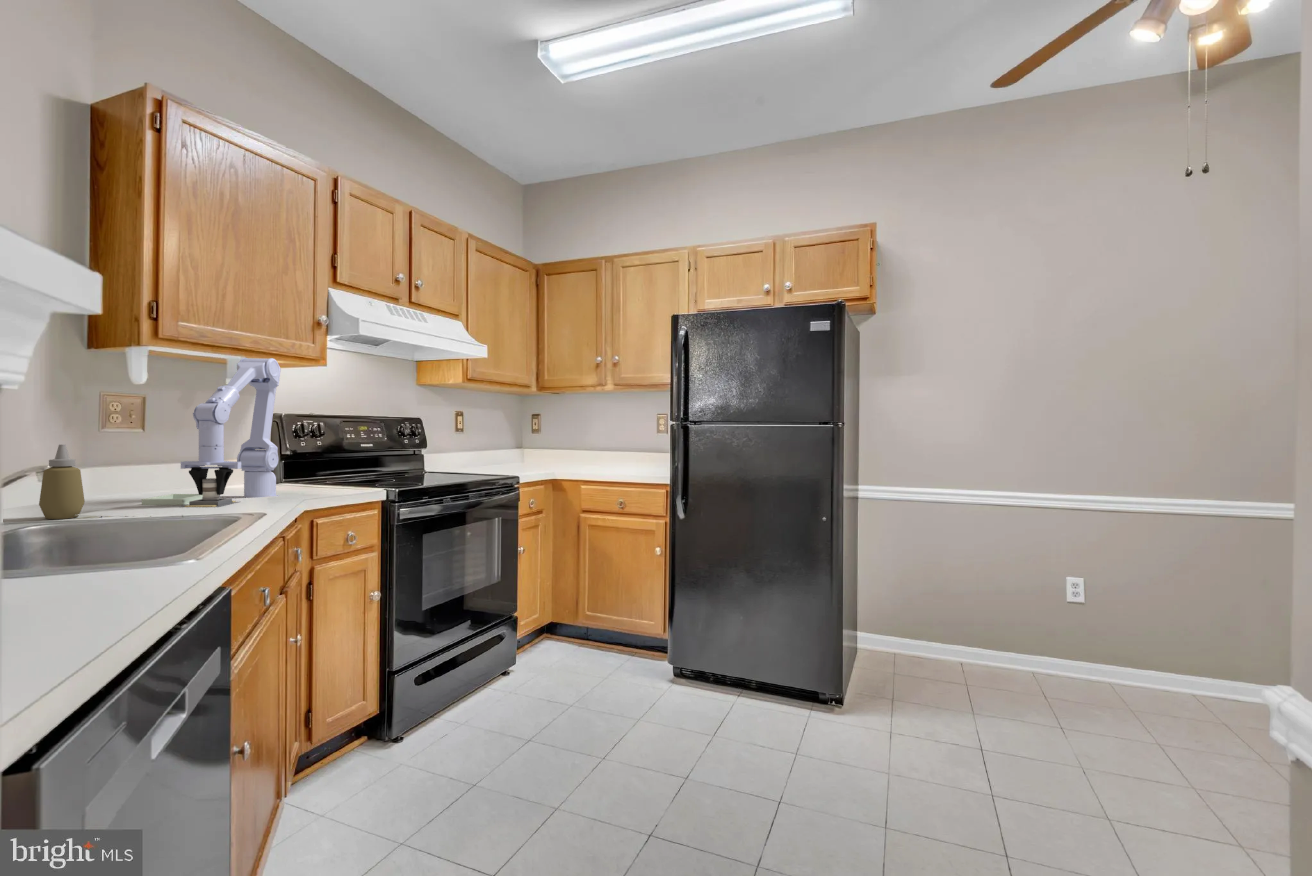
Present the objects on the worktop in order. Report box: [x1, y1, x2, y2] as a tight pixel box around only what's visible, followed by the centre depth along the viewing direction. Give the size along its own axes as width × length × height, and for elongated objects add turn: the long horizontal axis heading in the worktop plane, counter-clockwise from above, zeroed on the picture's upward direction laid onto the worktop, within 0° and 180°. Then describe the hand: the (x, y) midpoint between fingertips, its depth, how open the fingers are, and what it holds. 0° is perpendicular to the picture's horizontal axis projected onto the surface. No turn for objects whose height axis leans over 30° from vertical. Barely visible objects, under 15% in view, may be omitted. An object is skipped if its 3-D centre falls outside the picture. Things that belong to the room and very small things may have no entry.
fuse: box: [202, 477, 221, 501], centre depth 172 cm, size 4×4×6 cm
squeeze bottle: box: [38, 444, 86, 520], centre depth 151 cm, size 8×8×18 cm
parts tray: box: [141, 493, 202, 506], centre depth 176 cm, size 13×10×2 cm
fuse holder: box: [180, 497, 240, 508], centre depth 172 cm, size 12×10×2 cm
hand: (211, 494), depth 172 cm, fingers closed on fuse, 4 cm apart
